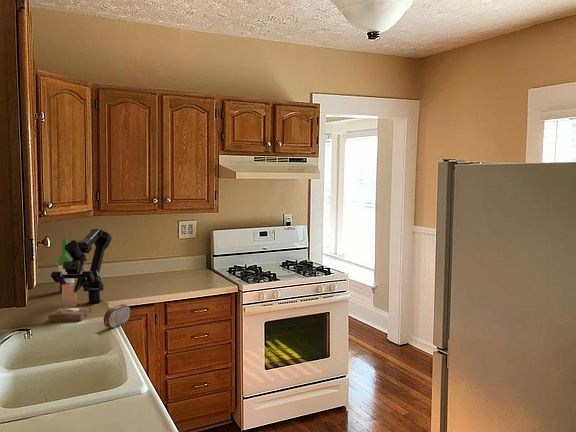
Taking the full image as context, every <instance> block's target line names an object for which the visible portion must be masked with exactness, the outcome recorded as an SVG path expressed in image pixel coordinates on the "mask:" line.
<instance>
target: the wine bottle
mask: <svg viewBox="0 0 576 432" xmlns="http://www.w3.org/2000/svg"><path fill="white" fill-rule="evenodd" d="M67 244H68V238H62V239H61V254H60V255H59V256H58V258H57V266H58V271H61V273H62V274H67V272H65V269H63V262H69V261H71V260H72V258H70V256H69V255H68V253H67V252H66V250H65V246H66V245H67ZM65 281H66V283H75V279H69V278H65ZM58 283H59V282H58ZM59 287H60V283H59Z"/></svg>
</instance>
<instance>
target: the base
mask: <svg viewBox="0 0 576 432" xmlns="http://www.w3.org/2000/svg"><path fill="white" fill-rule="evenodd" d="M91 307H92V306H90V305H89V306H74V307H63V306H62V307H58V308H57V309H56V310H55V311H54V312H52V313H50V314H49V315H48V316H47V318H48V323H69V322H82V321H83V320H84V319H85V318H87V317H88V316H89V315H90V314H91V313H92V308H91Z"/></svg>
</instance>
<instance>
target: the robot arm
mask: <svg viewBox="0 0 576 432" xmlns="http://www.w3.org/2000/svg"><path fill="white" fill-rule="evenodd" d="M111 241H112V236H111V234H110V233H109V232H107V231H105V230H103V229H101V228H93V229H91V231H90V232H89V233H88V234H87V235H86V236H85V237H84V238H83V239H80V240H71V241H70V242H67V245H66V246H65V250H66V252H67V253H68V255H69V256H70V258H72V260H71V261H69V262H63V269H65V272H67V274H62V273H61V271H59V270H58V271H57V270H56V271H52V272H51V273H50V277H51V279H52V281H54V283H60V286H59V292H60V293H61V294H62V284H65V283H66V281H65V278H69V279H74V280H75V279H77V281H76V282H75V283H76V286H75V289H74V292H75V293H76V294H77V292H78V291H79V290H81V288H82V289H83V292H87V301H86V302H85V304H86V305H87V304H90V305H91V304H100V303H101V302H102V301H103V299H101V291H104V289H105V284H104V283H103V281H102V277H101V275H100V273H101V267H102V263H103V259H104V255H105V250H107V249H108V247H110V244H111ZM93 244H94V246H95V248H94V251H93V252H94V253H93V257H92V261H91V264H90V268H89V270H84V264H85V262H87V260H88V259H87V257H86V255H85V254H89V253H90V252H91V251H92V249H93V248H92V247H93Z"/></svg>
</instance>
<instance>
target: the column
mask: <svg viewBox="0 0 576 432" xmlns="http://www.w3.org/2000/svg"><path fill="white" fill-rule="evenodd" d="M76 283H77V282H74V283H65V284H62V293H61V296H62V297H61V298H62V299H61V300H62V307H77V305H78V298H77V295H78V294H77V292H76V293H75V292H74V289H75V286H76Z"/></svg>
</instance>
